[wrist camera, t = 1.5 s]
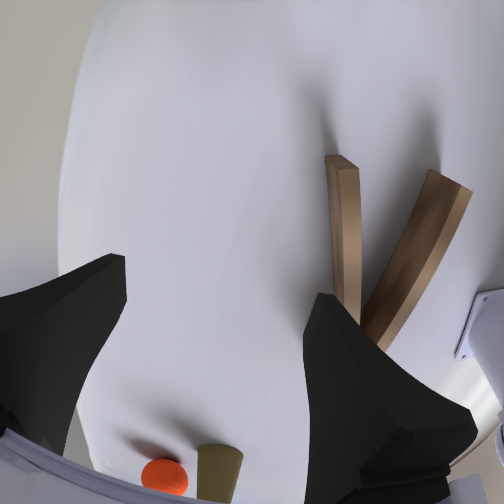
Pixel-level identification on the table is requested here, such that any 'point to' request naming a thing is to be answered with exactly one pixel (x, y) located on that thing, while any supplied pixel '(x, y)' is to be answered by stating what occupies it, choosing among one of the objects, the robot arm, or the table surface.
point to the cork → (217, 472)
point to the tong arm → (345, 231)
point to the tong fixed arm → (415, 257)
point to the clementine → (165, 476)
